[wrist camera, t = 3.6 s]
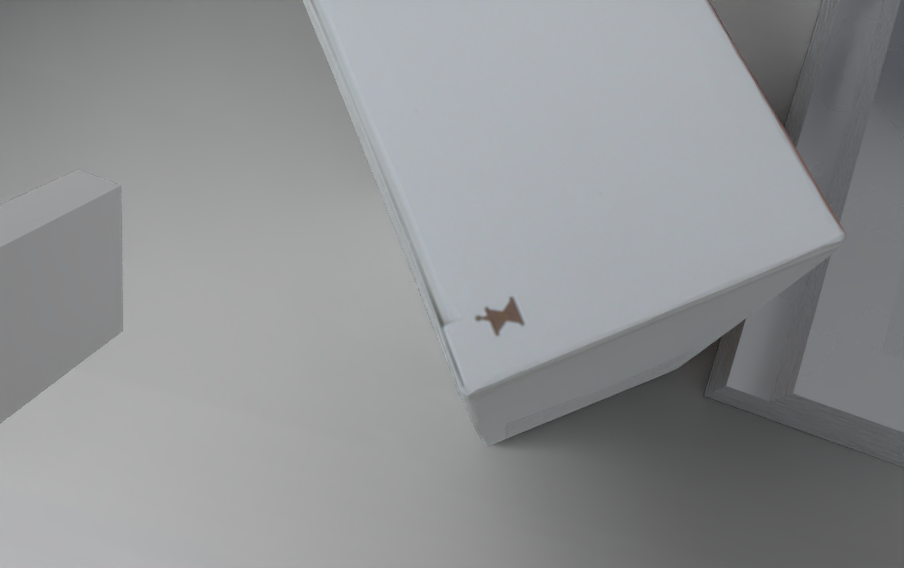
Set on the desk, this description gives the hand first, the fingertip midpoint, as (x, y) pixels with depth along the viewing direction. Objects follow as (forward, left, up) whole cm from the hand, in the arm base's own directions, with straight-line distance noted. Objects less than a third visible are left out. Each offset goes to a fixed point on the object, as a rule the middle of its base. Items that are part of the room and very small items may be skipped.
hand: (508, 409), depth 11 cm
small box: (-1, +4, -9) cm, 10 cm away
